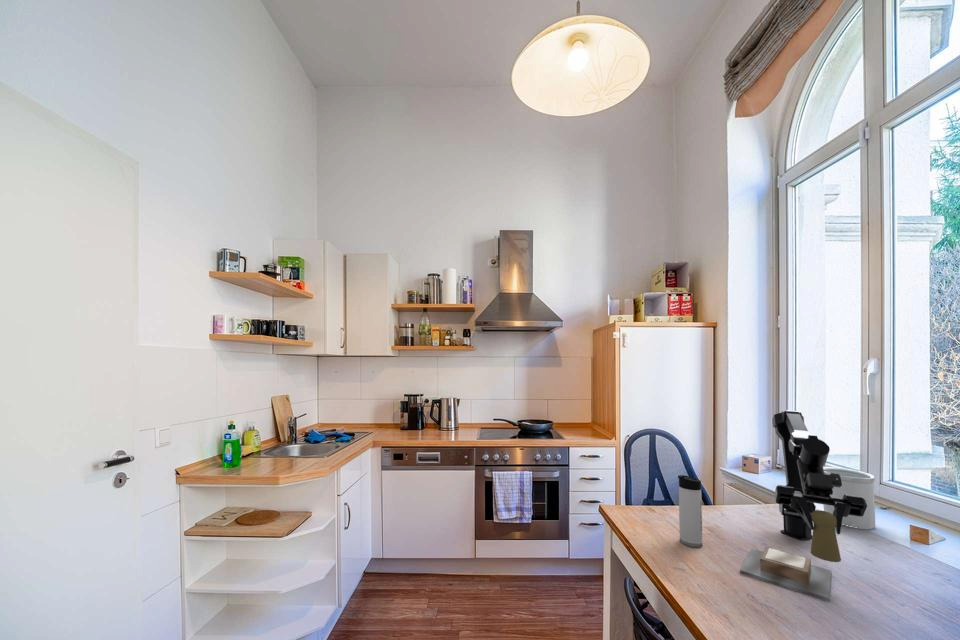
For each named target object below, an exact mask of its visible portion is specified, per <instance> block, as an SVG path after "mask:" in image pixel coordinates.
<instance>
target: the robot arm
mask: <svg viewBox="0 0 960 640" xmlns="http://www.w3.org/2000/svg"><path fill="white" fill-rule="evenodd" d="M772 428H774V430H775V431H774V432H775V434H776V436H777V437H778V438H779V439H780V440H781V446H782V454H783V462H784V473H785V474H784V475H785V484H786V485H781V484H778V485H776V486H775V490H774V491H775V492H774V500H775V503H776V504H778V510H779V513H780V514H781V516H782V517H783V529H781V530H780V533H781V534H785V535H787V536H789V537H791V538H795V539H798V540H800V541H802V540H809V539H812V535H813V532H812V531H813V526H814V523H813V521H812V519H811V513H812V512H813V511H815V510H817V509H816V508H817V506H816V504H819V505H823V504H824V505H831V506H834V512H833V515H834V516H835V517H836V519H837V524H836V526H835V527H834V528H835V533H836V535H838V536H839V535H841V529H842V526H843V525H842V519H843V517H848V515H853V516H859V517H860V516H863V515H864V513H865V510H866V508H867V504H866V500H865V499H863V498H862V497H861V496H854V495H847V494H844V496H843V499H837V498H831V496H830V494H831V495H832V494H833V490H832V489H833V488H834V487H839V488H840V487H841V486H842V481H841V477H840V474H835V473H831V474H830V475H826V474H825V473H824V469H823V467H826V466H825V465H826V463H827V459H828V456H829V453H830V450H831V448H830V446H829V445H828V444H827V443H826V442H825V441H824V440H822V439H819V438H818V435H815V434H813V433H810V432H809V430H808V428H807V426H806V424H805V418H804V416H803V414H802V412H801V411H798V410H788V409H786V410H782V411H780V412H778V413H776V414H773V417H772Z"/></svg>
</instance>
